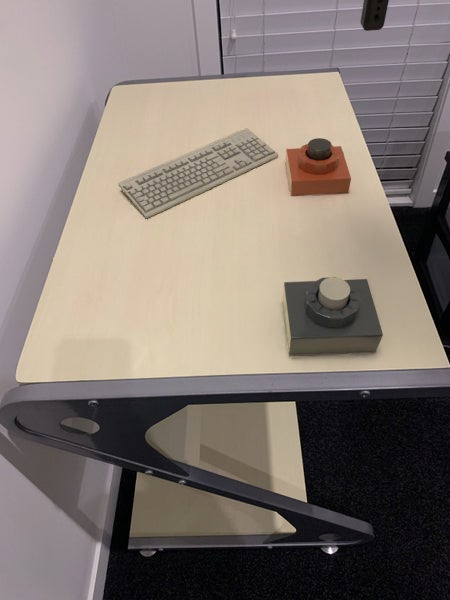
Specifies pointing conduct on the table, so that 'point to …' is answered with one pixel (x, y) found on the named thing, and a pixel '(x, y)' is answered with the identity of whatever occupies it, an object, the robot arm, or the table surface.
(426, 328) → the table surface
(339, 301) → the grey cylindrical knob
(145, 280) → the table surface
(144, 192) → the keyboard
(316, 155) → the black button cap
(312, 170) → the button base
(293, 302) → the push button box
